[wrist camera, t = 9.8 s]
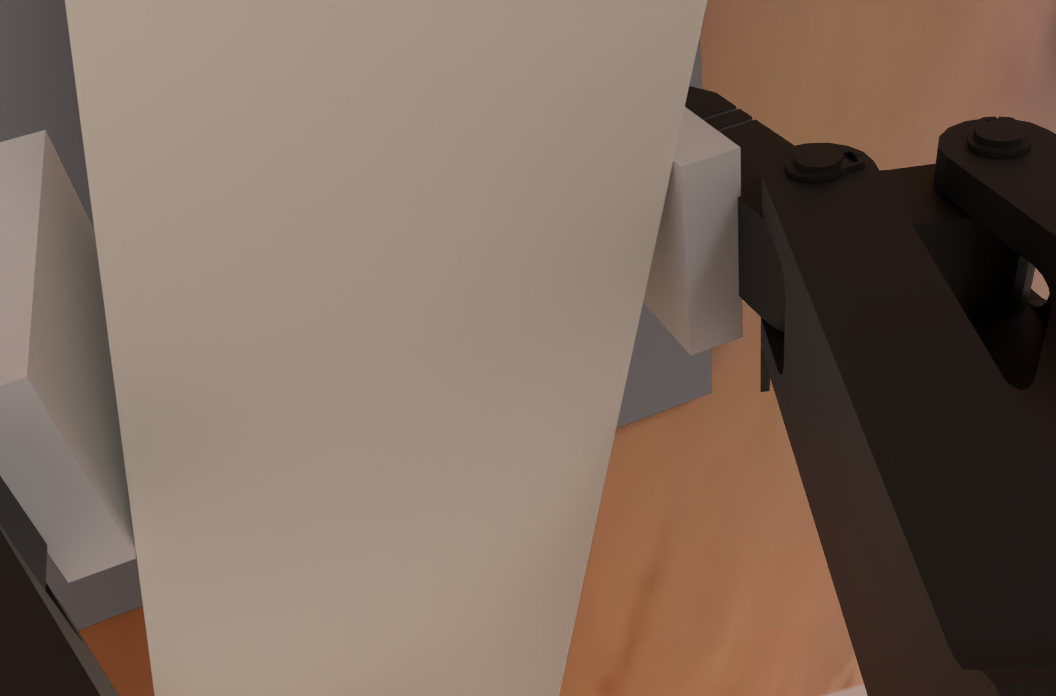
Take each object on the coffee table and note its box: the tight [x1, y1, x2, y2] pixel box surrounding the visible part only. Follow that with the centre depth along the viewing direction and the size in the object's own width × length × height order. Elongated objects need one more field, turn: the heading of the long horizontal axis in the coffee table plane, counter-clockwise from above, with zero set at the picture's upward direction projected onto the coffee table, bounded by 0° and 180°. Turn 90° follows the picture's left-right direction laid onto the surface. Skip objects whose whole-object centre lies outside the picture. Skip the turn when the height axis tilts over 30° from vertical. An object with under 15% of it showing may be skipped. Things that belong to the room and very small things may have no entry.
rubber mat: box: [0, 0, 712, 630], centre depth 19 cm, size 24×18×1 cm
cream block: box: [65, 0, 707, 696], centre depth 14 cm, size 6×14×8 cm, turn 171°
